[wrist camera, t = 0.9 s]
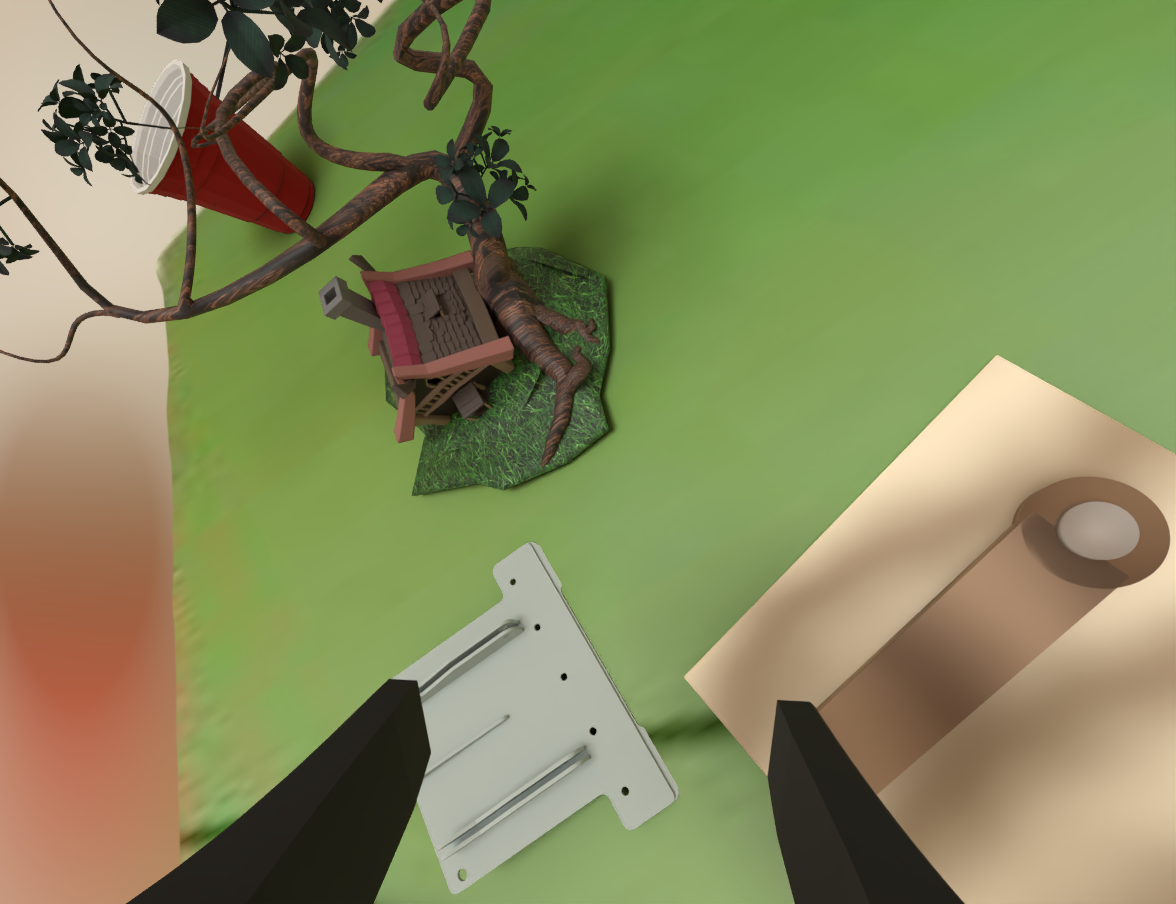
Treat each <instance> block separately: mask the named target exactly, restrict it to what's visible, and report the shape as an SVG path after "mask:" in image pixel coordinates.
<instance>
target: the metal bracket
mask: <svg viewBox="0 0 1176 904" xmlns="http://www.w3.org/2000/svg"><path fill="white" fill-rule="evenodd" d="M493 575H494V577H495V579H496V581H497V583H498V585H499V587H500V589H501V591H502V593H503V599H502V600H501V602H499V603H498V604H497V605H495V606H494V607H492V608H491V609H489V610H488V611H487V612H485V613H484V614H482V615H481V616H480V617H478V618H477V619H475V620H474V621H473V622H471V623H470V624H468V625H467V626H466V627H464V628H463V629H461V630H460V631H459V632H457V633H456V634H454V635H453V636H451V637H450V638H449V639H447V640H446V641H444V642H443V643H442V644H440V645H439V646H437V647H436V648H435V649H433V650H432V651H430V652H429V653H428V654H426V655H425V656H423V657H422V658H421V659H419V660H418V661H416V662H415V663H413V664H412V665H411V666H409V667H408V668H406V669H405V670H404V671H402V672H401V673H399V674H398V675H397V676H395V677H394V678H392V679H401V680H417V681H418V686H419V691H420V697H421V702H422V707H423V712H424V717H425V723H426V728H427V733H428V738H429V743H430V749H431V755H430V759H429V762H428V765H427V769H426V772H425V775H424V779H423V782H422V785H421V788H420V792H419V795H418V798H417V802H418V805H419V807H420V810H421V813H422V816H423V818H424V821H425V824H426V827H427V829H428V832H429V835H430V838H431V840H432V843H433V846H434V849H435V851H436V854H437V857H438V860H439V862H440V865H441V868H442V871H443V873H444V876H445V879H446V882H447V884H448V887H449V890H450V891H451V893H453V894H458V893H460V892H461V891H463V890H464V889H466V888H467V887H468V886H470V885H471V884H473V883H474V882H476V881H477V880H478V879H480V878H481V877H483V876H484V875H486V874H487V873H489V872H490V871H491V870H493V869H494V868H496V867H497V866H499V865H500V864H501V863H503V862H504V861H506V860H507V859H509V858H510V857H511V856H513V855H514V854H516V853H517V852H519V851H520V850H522V849H523V848H524V847H526V846H527V845H529V844H530V843H532V842H533V841H534V840H536V839H537V838H539V837H540V836H542V835H543V834H545V833H546V832H547V831H549V830H550V829H552V828H553V827H555V826H556V825H557V824H559V823H560V822H562V821H563V820H565V819H566V818H568V817H569V816H570V815H572V814H573V813H575V812H576V811H578V810H579V809H580V808H582V807H583V806H585V805H586V804H588V803H589V802H591V801H592V800H593V799H595V798H596V797H598V796H599V795H602V794H604V795H607V796H608V797H609V798H610V800H611V802H612V804H613V806H614V808H615V810H616V812H617V814H618V816H619V818H620V820H621V822H622V823H623V825H624V827H625V828H626V829H628V830H633V829H635V828H637V827H638V826H640V825H641V824H643V823H644V822H646V821H647V820H648V819H650V818H651V817H653V816H654V815H656V814H657V813H659V812H660V811H661V810H663V809H664V808H666V807H667V806H669V805H670V804H672V802H674V801H675V800H676V799H677V798H678V796H679V790H678V787H677V785H676V783H675V781H674V780H673V778H672V776H671V774H670V773H669V771H668V769H667V767H666V766H665V764H664V762H663V760H662V759H661V757H660V755H659V753H658V752H657V750H656V748H655V746H654V745H653V743H652V741H651V739H650V738H649V736H648V734H647V732H646V731H645V729H644V727H641V726H639V725H638V724H637V723H636V721H635V719H634V717H633V716H632V714H631V712H630V710H629V709H628V707H627V705H626V703H625V702H624V700H623V698H622V697H621V695H620V693H619V691H618V690H617V688H616V686H615V684H614V683H613V681H612V679H611V677H610V676H609V674H608V672H607V671H606V669H605V667H604V665H603V664H602V662H601V660H600V658H599V657H598V655H597V653H596V651H595V650H594V648H593V646H592V644H591V643H590V641H589V639H588V638H587V636H586V634H585V632H584V631H583V629H582V627H581V625H580V624H579V622H578V620H577V618H576V617H575V615H574V613H573V612H572V610H571V608H570V606H569V605H568V603H567V601H566V599H565V598H564V596H563V594H562V592H561V587H562V584H561V582H560V581H559V579H558V577H557V575H556V574H555V572H554V570H553V568H552V567H551V565H550V563H549V561H548V560H547V558H546V556H545V554H544V553H543V551H542V549H541V547H540V546H539V545H538V544H536V543H534V542H529V543H528V544H524V545H523V546H521V547H520V548H519V549H517V550H516V551H514V552H513V553H512V554H510V555H509V556H507V557H506V558H505V559H503V560H502V561H500V562H499V563H498V564H496V565H495V566H494V569H493ZM513 579H515V580H516V584H515V585H512V584H511V581H512V580H513ZM537 624H539V625H540V630H539V631H537V630H536V629H535V626H536V625H537ZM563 673H566V674H567V679H566V680H565V681H564V680H562V674H563ZM592 727H594V728H596V731H597V732H596V734H595V735H592V734H591V732H590V730H591V728H592ZM623 787H627V788H628V789H629V794H628V795H624V794H623V792H622V788H623ZM462 868H463V869H465V870H466V872H467V878H466V880H462V879H461V878H460V875H459V872H460V870H461V869H462Z"/></svg>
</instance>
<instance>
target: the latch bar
mask: <svg viewBox="0 0 1176 904" xmlns="http://www.w3.org/2000/svg"><path fill="white" fill-rule="evenodd" d="M1169 547H1170V531H1169V527H1168V524H1167V521H1166V519H1165V517H1164V515H1163V514H1162V512H1161V511H1160V509H1159V508H1158V507H1157V506H1156V504H1155V503H1154V502H1153V501H1152V500H1151V499H1149V498H1148V497H1147V496H1146V495H1144V494H1143V493H1141V492H1140V491H1139V490H1137V489H1135V488H1133V487H1131V486H1129V485H1127V484H1124V483H1122V482H1119V481H1115V480H1112V479H1107V478H1102V477H1073V478H1068V479H1064V480H1061V481H1058V482H1055V483H1053V484H1051V485H1049V486H1047V487H1045V488H1043V489H1041V490H1039V491H1037V492H1035V493H1034V494H1032V495H1030V496H1029V497H1028V498H1027V499H1025V500H1024V501H1023V502H1022V503H1021V505H1020V506H1019V507H1018V509H1017V510H1016V512H1015V515H1014V517H1013V521H1012V525H1011V526H1010V527H1009V528H1008V529H1007V530H1006V531H1005V532H1004V533H1003V534H1002V535H1001V536H1000V537H999V538H998V539H996V540H995V541H994V542H993V543H992V544H991V545H990V546H989V547H988V548H987V549H986V550H985V551H984V552H983V553H982V554H980V555H979V556H978V557H977V558H976V559H975V560H974V561H973V562H972V563H971V564H970V565H969V566H968V567H967V568H966V569H964V570H963V571H962V572H961V573H960V574H959V575H958V576H957V577H956V578H955V579H954V580H953V581H952V582H951V583H950V584H948V585H947V586H946V587H945V588H944V589H943V590H942V591H941V592H940V593H939V594H938V595H937V596H936V597H935V598H933V599H932V600H931V601H930V602H929V603H928V604H927V605H926V606H925V607H924V608H923V609H922V610H921V611H920V612H919V613H917V614H916V615H915V616H914V617H913V618H912V619H911V620H910V621H909V622H908V623H907V624H906V625H905V626H904V627H903V628H901V629H900V630H899V631H898V632H897V633H896V634H895V635H894V636H893V637H892V638H891V639H890V640H889V641H888V642H887V643H885V644H884V645H883V646H882V647H881V648H880V649H879V650H878V651H877V652H876V653H875V654H874V655H873V656H872V657H870V658H869V659H868V660H867V661H866V662H865V663H864V664H863V665H862V666H861V667H860V668H859V669H858V670H857V671H856V672H854V673H853V674H852V675H851V676H850V677H849V678H848V679H847V680H846V681H845V682H844V683H843V684H842V685H841V686H840V687H838V688H837V689H836V690H835V691H834V692H833V693H832V694H831V695H830V696H829V697H828V698H827V699H826V700H825V701H824V702H822V703H821V704H820V705H819V706H818V707H817V708H816V709H817V710H818V712H819V713H820V715H821V716H822V718H823V719H824V721H825V722H826V724H827V726H828V727H829V729H830V730H831V731H832V733H833V734H834V736H835V737H836V739H837V740H838V742H839V743H840V745H841V746H842V748H843V749H844V751H845V752H846V753H847V755H848V756H849V758H850V759H851V760H852V762H853V763H854V765H855V766H856V767H857V769H858V770H859V772H860V773H861V774H862V776H863V777H864V779H865V780H866V781H867V783H868V784H869V785H870V787H871V788H872V789H873V791H874V792H875V793H876V795H877V794H878V793H879V792H881V791H882V790H883V789H884V788H885V787H886V786H888V785H889V784H890V783H891V782H892V781H893V780H895V779H896V778H897V777H898V776H899V775H900V774H901V773H903V772H904V771H905V770H906V769H907V768H908V767H910V766H911V765H912V764H913V763H914V762H915V761H917V760H918V759H919V758H920V757H921V756H922V755H924V754H925V753H926V752H927V751H928V750H929V749H931V748H932V747H933V746H934V745H935V744H936V743H937V742H939V741H940V740H941V739H942V738H943V737H944V736H946V735H947V734H948V733H949V732H950V731H951V730H953V729H954V728H955V727H956V726H957V725H958V724H960V723H961V722H962V721H963V720H964V719H965V718H967V717H968V716H969V715H970V714H971V713H972V712H973V711H975V710H976V709H977V708H978V707H979V706H980V705H982V704H983V703H984V702H985V701H986V700H987V699H989V698H990V697H991V696H992V695H993V694H994V693H996V692H997V691H998V690H999V689H1000V688H1001V687H1003V686H1004V685H1005V684H1006V683H1007V682H1008V681H1009V680H1011V679H1012V678H1013V677H1014V676H1015V675H1016V674H1018V673H1019V672H1020V671H1021V670H1022V669H1023V668H1025V667H1026V666H1027V665H1028V664H1029V663H1030V662H1032V661H1033V660H1034V659H1035V658H1036V657H1037V656H1039V655H1040V654H1041V653H1042V652H1043V651H1044V650H1045V649H1047V648H1048V647H1049V646H1050V645H1051V644H1052V643H1054V642H1055V641H1056V640H1057V639H1058V638H1059V637H1061V636H1062V635H1063V634H1064V633H1065V632H1066V631H1068V630H1069V629H1070V628H1071V627H1072V626H1073V625H1075V624H1076V623H1077V622H1078V621H1079V620H1080V619H1081V618H1083V617H1084V616H1085V615H1086V614H1087V613H1088V612H1090V611H1091V610H1092V609H1093V608H1094V607H1095V606H1097V605H1098V604H1099V603H1100V602H1101V601H1102V600H1104V599H1105V598H1106V597H1107V596H1108V595H1109V594H1111V593H1112V592H1113V591H1114V590H1115V589H1116V588H1119V587H1124V586H1128V585H1132V584H1134V583H1137V582H1140V581H1141V580H1143V579H1145V578H1147V577H1148V576H1150V575H1151V574H1153V573H1154V572H1155V571H1156V570H1157V569H1158V568H1159V567H1160V566H1161V564H1162V563H1163V561H1164V560H1165V558H1166V556H1167V554H1168V550H1169Z"/></svg>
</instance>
